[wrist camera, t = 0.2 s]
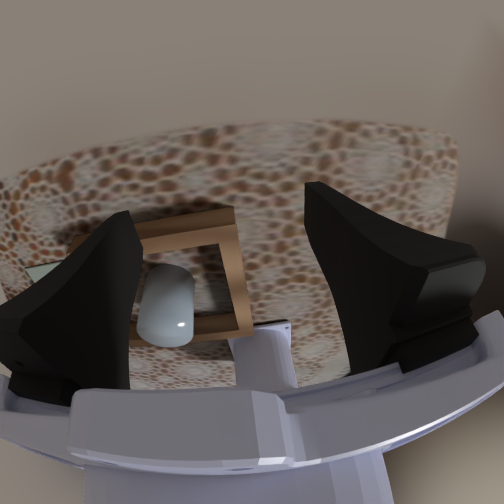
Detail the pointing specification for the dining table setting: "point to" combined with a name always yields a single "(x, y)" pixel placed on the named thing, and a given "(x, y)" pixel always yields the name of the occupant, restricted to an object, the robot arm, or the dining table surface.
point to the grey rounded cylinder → (167, 306)
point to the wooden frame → (192, 235)
